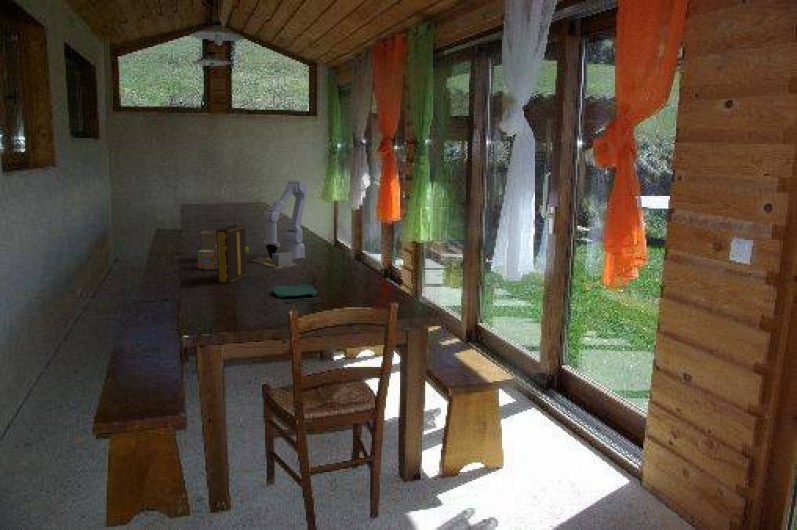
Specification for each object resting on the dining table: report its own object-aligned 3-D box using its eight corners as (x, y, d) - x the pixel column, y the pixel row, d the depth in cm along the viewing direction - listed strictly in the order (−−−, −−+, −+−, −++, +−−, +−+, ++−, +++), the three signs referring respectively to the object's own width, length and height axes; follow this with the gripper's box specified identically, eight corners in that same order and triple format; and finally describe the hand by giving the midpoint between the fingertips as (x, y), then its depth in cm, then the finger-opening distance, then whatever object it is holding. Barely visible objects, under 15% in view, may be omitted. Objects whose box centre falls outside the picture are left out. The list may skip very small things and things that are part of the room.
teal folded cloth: (313, 287, 293) (313, 282, 292) (326, 304, 265) (326, 299, 264) (269, 290, 286) (269, 285, 286) (278, 308, 259) (278, 302, 258)
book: (231, 283, 298) (229, 230, 293) (214, 282, 299) (212, 229, 295) (251, 274, 319) (250, 224, 314) (235, 273, 321) (233, 223, 316)
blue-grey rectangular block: (278, 262, 347) (277, 253, 346) (287, 264, 339) (287, 255, 338) (272, 262, 345) (272, 253, 344) (281, 265, 337) (281, 256, 336)
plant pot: (225, 263, 347) (224, 234, 344) (198, 262, 347) (196, 233, 344) (233, 258, 361) (232, 230, 358) (207, 257, 362) (205, 229, 359)
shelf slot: (273, 258, 361) (273, 245, 360) (297, 265, 342) (297, 251, 340) (250, 261, 352) (250, 247, 351) (274, 268, 333) (273, 254, 331)
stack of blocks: (197, 269, 330) (196, 245, 328) (201, 267, 336) (200, 243, 334) (238, 270, 329) (237, 246, 327) (242, 267, 336) (241, 244, 333)
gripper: (258, 232, 348) (259, 257, 351) (271, 235, 337) (272, 261, 340) (269, 231, 353) (270, 255, 355) (283, 234, 342) (283, 259, 345)
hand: (272, 258), depth 348 cm, fingers closed
